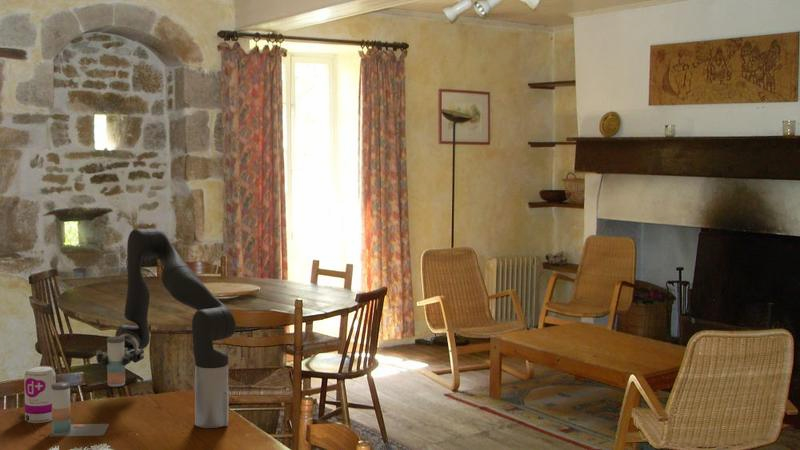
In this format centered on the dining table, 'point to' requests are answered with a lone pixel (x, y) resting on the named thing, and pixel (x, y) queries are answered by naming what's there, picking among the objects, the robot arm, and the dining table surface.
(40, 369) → the supplement can
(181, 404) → the dining table surface
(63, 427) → the twin tube
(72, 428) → the slate card
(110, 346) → the slim tube
